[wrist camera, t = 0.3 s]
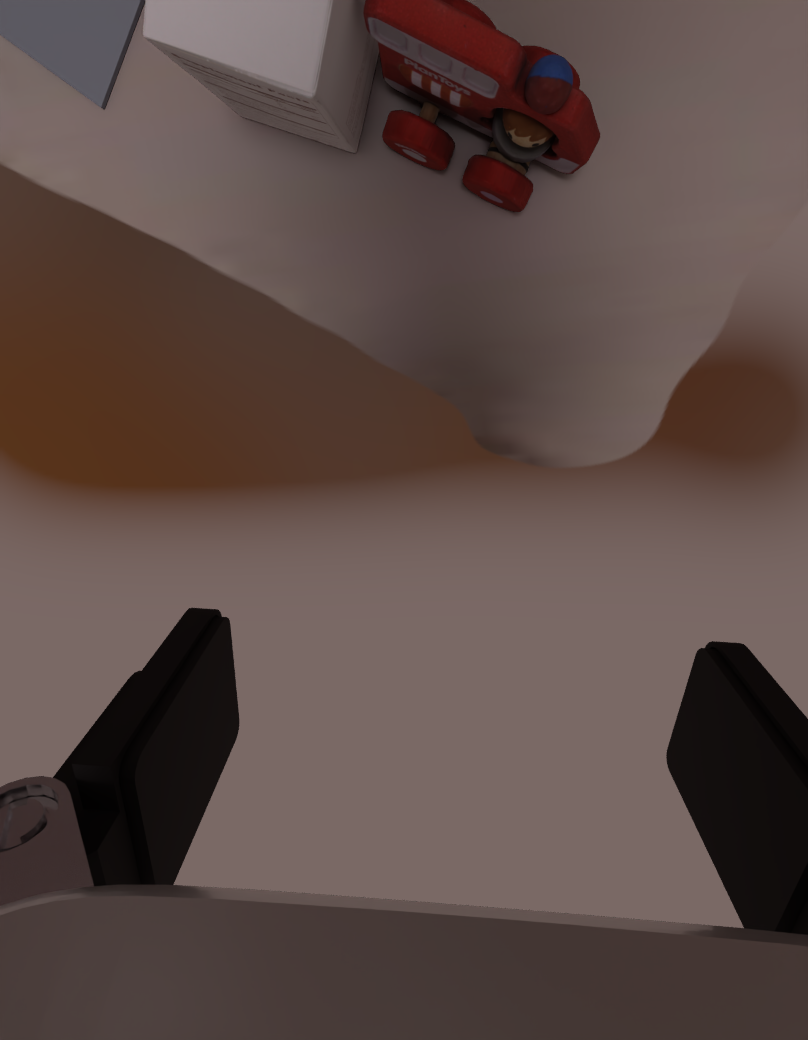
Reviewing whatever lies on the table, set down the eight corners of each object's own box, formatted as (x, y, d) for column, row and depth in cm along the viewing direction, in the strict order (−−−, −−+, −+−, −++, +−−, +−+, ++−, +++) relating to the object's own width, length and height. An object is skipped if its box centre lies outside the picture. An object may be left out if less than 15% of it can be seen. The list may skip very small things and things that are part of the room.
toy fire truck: (542, 230, 35) (581, 212, 26) (360, 136, 34) (331, 80, 24) (602, 107, 33) (671, 37, 23) (408, 0, 31) (396, -124, 22)
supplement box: (261, -36, 31) (158, -225, 19) (391, 12, 31) (365, -145, 20) (238, 119, 34) (134, 35, 22) (356, 160, 34) (316, 99, 23)
